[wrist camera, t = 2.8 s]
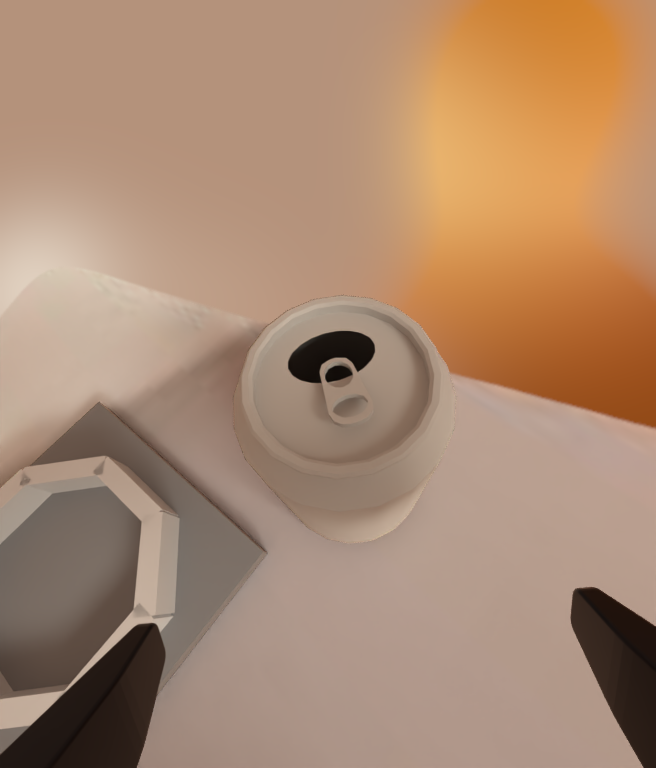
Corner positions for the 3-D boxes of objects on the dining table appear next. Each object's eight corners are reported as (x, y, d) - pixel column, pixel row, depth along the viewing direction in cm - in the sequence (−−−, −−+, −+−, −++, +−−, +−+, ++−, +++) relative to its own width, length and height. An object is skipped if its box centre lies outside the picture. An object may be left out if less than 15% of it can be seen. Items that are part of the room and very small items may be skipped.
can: (391, 397, 25) (412, 251, 14) (440, 521, 21) (517, 451, 11) (273, 432, 24) (200, 309, 14) (303, 564, 21) (238, 537, 10)
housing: (44, 839, 17) (-17, 887, 14) (-98, 602, 22) (-164, 604, 19) (267, 553, 21) (253, 547, 18) (108, 408, 26) (78, 387, 23)
